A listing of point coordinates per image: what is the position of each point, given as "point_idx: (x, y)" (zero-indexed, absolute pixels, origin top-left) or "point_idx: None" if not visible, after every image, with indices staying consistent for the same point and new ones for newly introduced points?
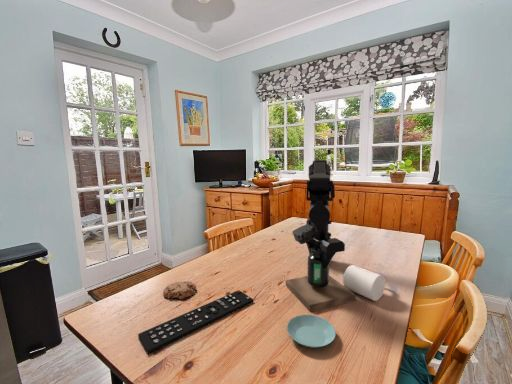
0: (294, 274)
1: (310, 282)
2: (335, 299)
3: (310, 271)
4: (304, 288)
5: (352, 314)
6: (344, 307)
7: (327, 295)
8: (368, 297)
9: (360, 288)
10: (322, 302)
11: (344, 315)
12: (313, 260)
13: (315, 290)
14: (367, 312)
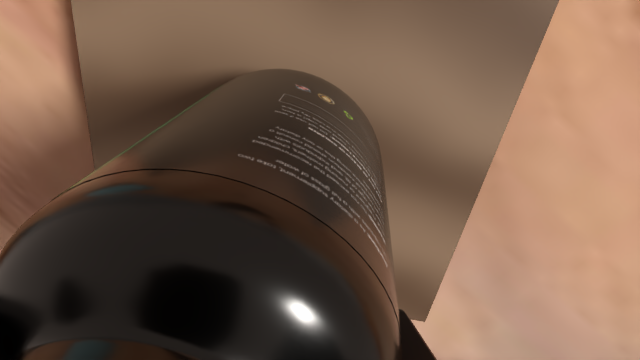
0: (628, 161)
1: (264, 71)
2: (91, 127)
3: (227, 107)
4: (321, 20)
5: (8, 128)
6: (82, 142)
7: (148, 114)
8: None
9: None
10: (75, 8)
11: (5, 80)
12: (57, 228)
13: None
14: (14, 205)
